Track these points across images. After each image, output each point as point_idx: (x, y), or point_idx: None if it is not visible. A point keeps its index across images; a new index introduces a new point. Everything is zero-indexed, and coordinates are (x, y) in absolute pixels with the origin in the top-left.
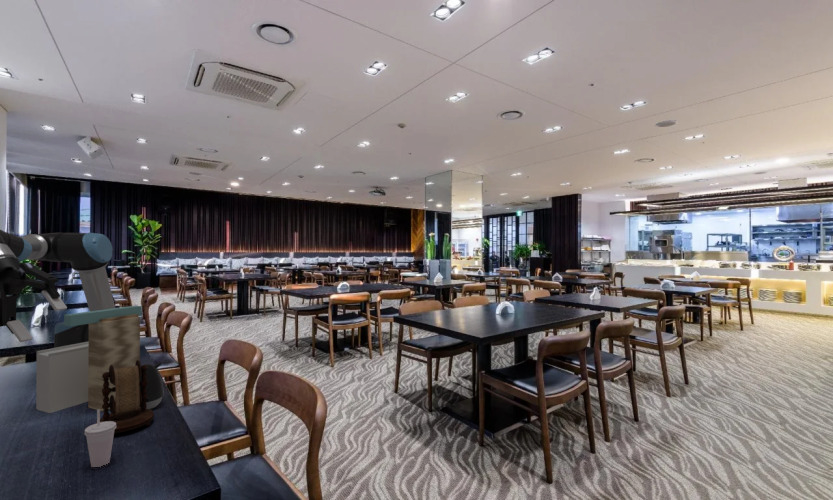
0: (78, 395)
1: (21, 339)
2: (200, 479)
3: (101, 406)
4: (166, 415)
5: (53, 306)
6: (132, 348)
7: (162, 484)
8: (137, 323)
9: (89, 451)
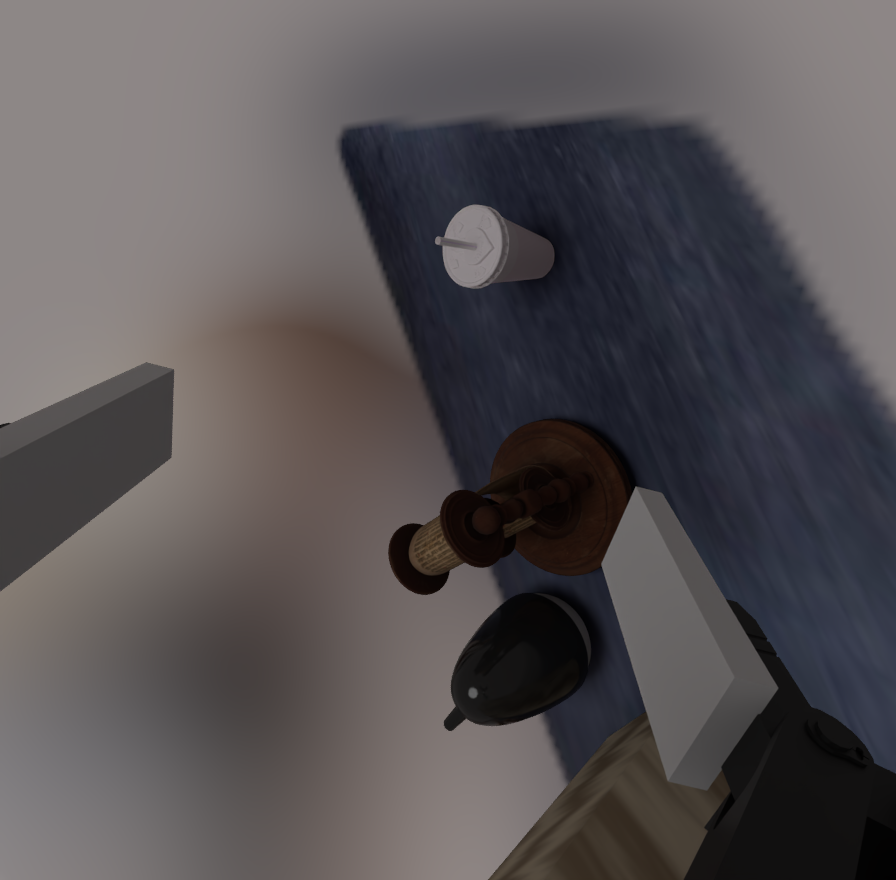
0: None
1: (637, 493)
2: (354, 170)
3: None
4: None
5: (131, 380)
6: (503, 871)
7: (399, 153)
8: None
9: (524, 229)
